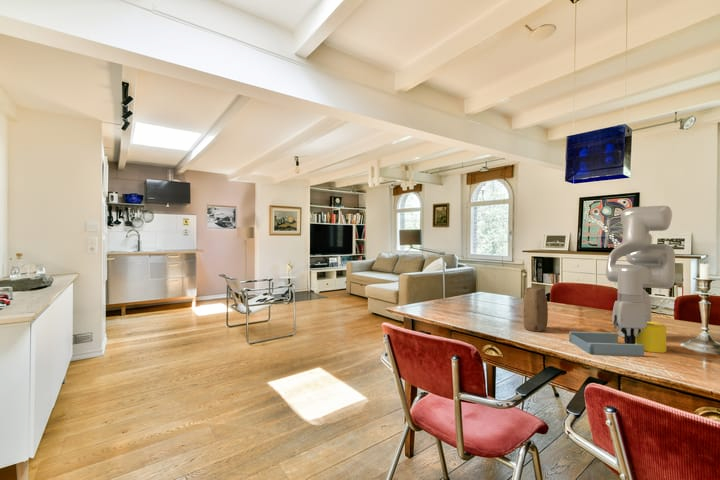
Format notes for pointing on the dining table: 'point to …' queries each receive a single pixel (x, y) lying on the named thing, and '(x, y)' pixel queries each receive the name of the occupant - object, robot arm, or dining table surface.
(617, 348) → the grey shallow tray
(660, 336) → the tape roll
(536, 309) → the block
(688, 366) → the dining table surface
